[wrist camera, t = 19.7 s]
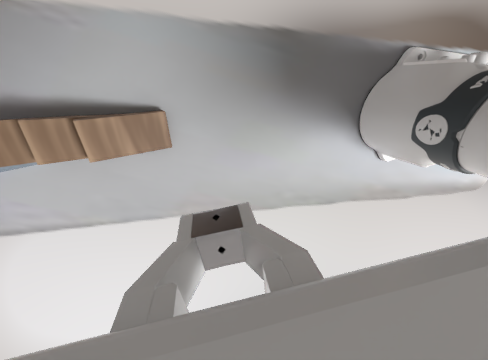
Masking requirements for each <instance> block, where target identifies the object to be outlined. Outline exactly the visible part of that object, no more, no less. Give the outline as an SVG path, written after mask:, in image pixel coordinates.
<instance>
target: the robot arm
mask: <svg viewBox="0 0 488 360" xmlns="http://www.w3.org/2000/svg"><path fill="white" fill-rule="evenodd" d="M487 64H488V52H477V53H471V54H470V55H467V54H460V53H454V52H447V51H441V50H434V49H428V48H421V47H411V48H409V49H408V50H406V52H405V53H404V54H403V55H402V57H401V58H400V60H399V61H398V63H397V64H396V66H395V67H394V68H393V69H392V70H391V71H390V72H388V73H387V74H386V75H385V76H384V77H383V78H381V79H380V80H379V82H378V83H377V84H376V85H375V86H374V88H373V89H372V90H371V92H370V93H369V95H368V97H367V99H366V101H365V103H364V106H363V108H362V112H361V116H360V132H361V136H362V138H363V140H364V142H365V143H366V144H367V145H368V146H369V147H371V148H372V149H374V150H376V151H377V154H378V156H379V158H380V159H381V160H383V161H386V162H388V161H391V160H394V159H398V160H402V161H405V162H408V163H411V164H414V165H418V166H421V167H428V166H431V165H435V164H438V165H441V166H443V167H444V168H447V169H450V170H453V171H459V172H462V173H466V174H475V173H476V174H479V175H481V176H484V177H487V178H488V65H487ZM240 262H246V263H247V264H248V265H249V266H250V267H251V268H252V269H253V270H254V271H255V272H256V273H257V274H258V275H259V276H260V277H261V278H262V279H263V280H264V284H265V294H262V295H258V296H254V297H250V298H246V299H242V300H238V301H234V302H230V303H227V304H222V305H219V306H215V307H211V308H207V309H203V310H199V311H195V312H192V313H189V312H188V309H187V306H188V304H189V302H190V300H191V298H192V296H193V295H194V292H195V291H196V289H197V287H198V285H199V283H200V281H201V279H202V277H203V276H204V274H205V271H206V270H210V269H214V268H218V267H222V266H226V265H230V264H235V263H240ZM6 360H488V237H487V238H482V239H479V240H474V241H470V242H466V243H463V244H459V245H455V246H451V247H447V248H443V249H439V250H435V251H431V252H427V253H423V254H420V255H415V256H411V257H407V258H403V259H400V260H396V261H392V262H388V263H384V264H380V265H376V266H372V267H368V268H364V269H360V270H357V271H352V272H348V273H344V274H341V275H337V276H333V277H329V278H325V279H324V278H323V276H322V274H321V273H320V271H319V269H318V268H317V266H316V264H315V263H314V261H313V259H312V258H311V256H310V254H309V253H308V251H307V250H305V249H304V248H302V247H300V246H298V245H297V244H295V243H293V242H291V241H290V240H288V239H286V238H284V237H283V236H281V235H279V234H277V233H276V232H274V231H272V230H270V229H269V228H267V227H265V226H263V225H261V224H257V223H256V220H255V218H254V215H253V212H252V210H251V207H250V204H249V203H248V202H246V203H242V204H237V205H234V206H229V207H225V208H220V209H214V210H208V211H203V212H197V213H192V214H187V215H182V216H181V218H180V224H179V229H178V236H177V241H176V242H173V243H172V244H171V245H170V246H169V247H168V248H167V249H166V250H165V251H164V252H163V253H162V254H161V256H160V257H159V258H158V259H157V260H156V261H155V262H154V263H153V264H152V265H151V266H150V267H149V268H148V269H147V270H146V271H145V272H144V273H143V274H142V275H141V276H140V278H139V279H138V280H137V281H136V282H135V283H134V284H133V285H132V286H131V287H130V288H129V289H128V290H127V291H126V292H125V294H124V296H123V299H122V302H121V304H120V307H119V310H118V312H117V315H116V318H115V320H114V323H113V326H112V328H111V331H110V333H109V334H105V335H101V336H97V337H93V338H89V339H85V340H81V341H77V342H73V343H69V344H65V345H61V346H58V347H54V348H49V349H46V350H42V351H38V352H34V353H30V354H26V355H22V356H18V357H14V358H10V359H6Z"/></svg>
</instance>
